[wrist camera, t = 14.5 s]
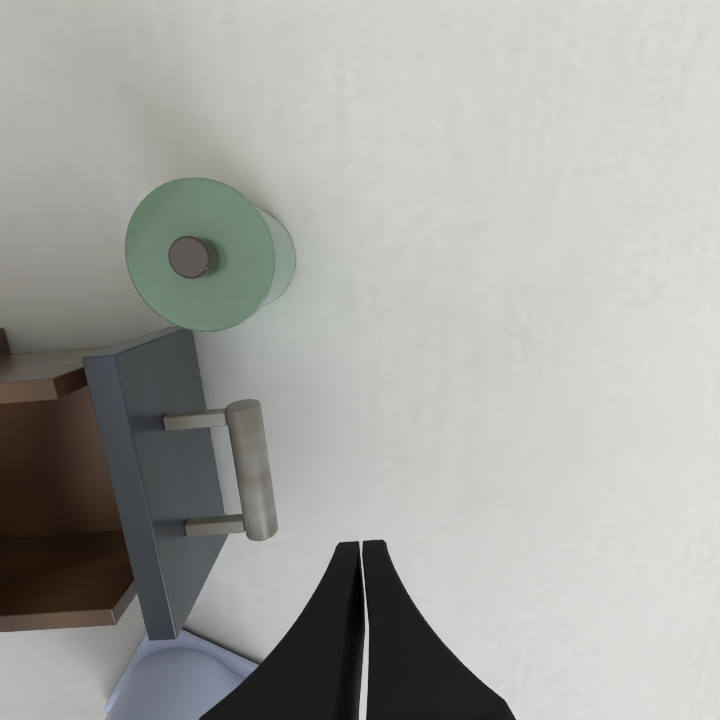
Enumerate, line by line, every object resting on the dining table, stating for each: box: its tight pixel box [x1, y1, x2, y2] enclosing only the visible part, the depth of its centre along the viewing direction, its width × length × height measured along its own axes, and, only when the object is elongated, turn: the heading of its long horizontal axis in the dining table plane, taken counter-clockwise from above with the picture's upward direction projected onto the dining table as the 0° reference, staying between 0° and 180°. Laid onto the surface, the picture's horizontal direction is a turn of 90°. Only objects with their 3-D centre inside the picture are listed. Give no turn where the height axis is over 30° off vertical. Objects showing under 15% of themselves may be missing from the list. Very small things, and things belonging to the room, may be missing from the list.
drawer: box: [0, 326, 278, 641], centre depth 19 cm, size 16×12×7 cm
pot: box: [125, 177, 296, 332], centre depth 18 cm, size 5×5×8 cm
